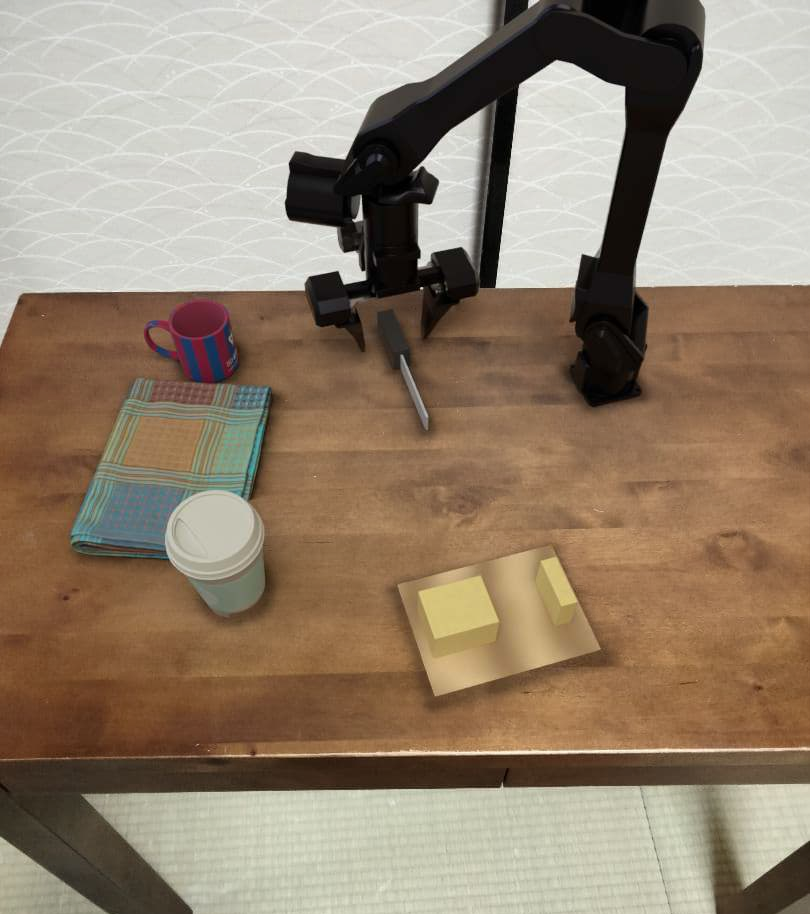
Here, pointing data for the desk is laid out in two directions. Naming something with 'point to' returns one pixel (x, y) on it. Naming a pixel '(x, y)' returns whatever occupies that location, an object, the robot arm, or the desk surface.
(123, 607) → the desk surface
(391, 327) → the knife
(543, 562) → the butter slice
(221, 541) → the coffee cup
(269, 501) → the desk surface
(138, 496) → the dish towel
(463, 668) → the board
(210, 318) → the cup
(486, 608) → the butter block
